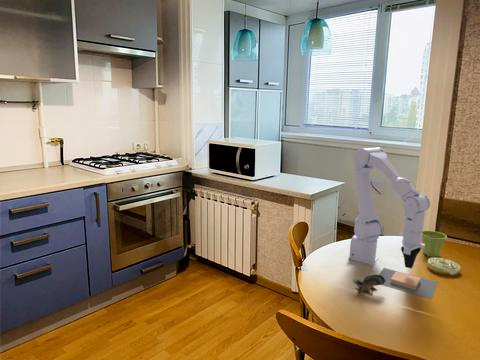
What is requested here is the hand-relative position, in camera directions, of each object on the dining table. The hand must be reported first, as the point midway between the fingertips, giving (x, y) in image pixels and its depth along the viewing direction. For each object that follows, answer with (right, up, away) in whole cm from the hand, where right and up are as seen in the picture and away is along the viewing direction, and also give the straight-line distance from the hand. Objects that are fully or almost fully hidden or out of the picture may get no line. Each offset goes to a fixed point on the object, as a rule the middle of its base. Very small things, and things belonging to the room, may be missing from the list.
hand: (408, 267), depth 125 cm
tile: (0, -4, +1) cm, 4 cm away
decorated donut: (+17, -4, +9) cm, 19 cm away
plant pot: (+20, -1, +23) cm, 31 cm away
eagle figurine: (-17, -7, -8) cm, 20 cm away
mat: (-2, -5, -1) cm, 6 cm away
